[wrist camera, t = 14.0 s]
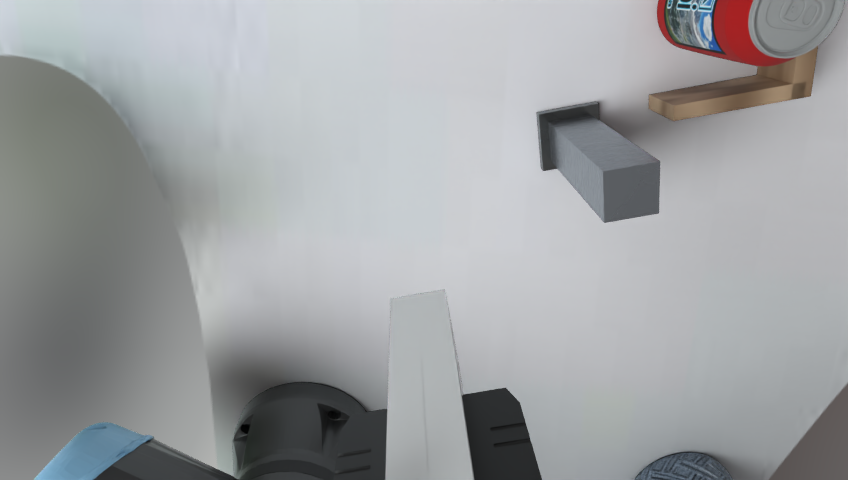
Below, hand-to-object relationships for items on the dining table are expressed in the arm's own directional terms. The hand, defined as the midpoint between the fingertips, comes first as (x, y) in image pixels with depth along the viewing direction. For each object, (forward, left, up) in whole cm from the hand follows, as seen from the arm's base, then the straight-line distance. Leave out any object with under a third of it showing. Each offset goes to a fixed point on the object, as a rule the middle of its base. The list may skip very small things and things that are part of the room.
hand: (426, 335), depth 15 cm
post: (+13, -5, -32) cm, 35 cm away
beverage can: (+24, +4, -33) cm, 40 cm away
